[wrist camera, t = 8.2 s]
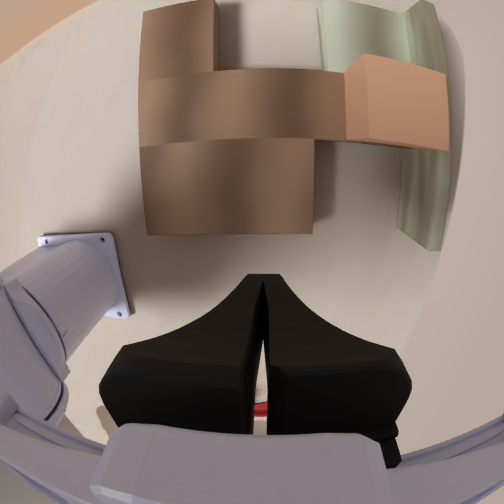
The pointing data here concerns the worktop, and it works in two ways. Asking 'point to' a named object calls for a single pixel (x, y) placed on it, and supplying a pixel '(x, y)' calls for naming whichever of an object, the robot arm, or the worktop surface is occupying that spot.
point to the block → (396, 104)
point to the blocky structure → (270, 123)
